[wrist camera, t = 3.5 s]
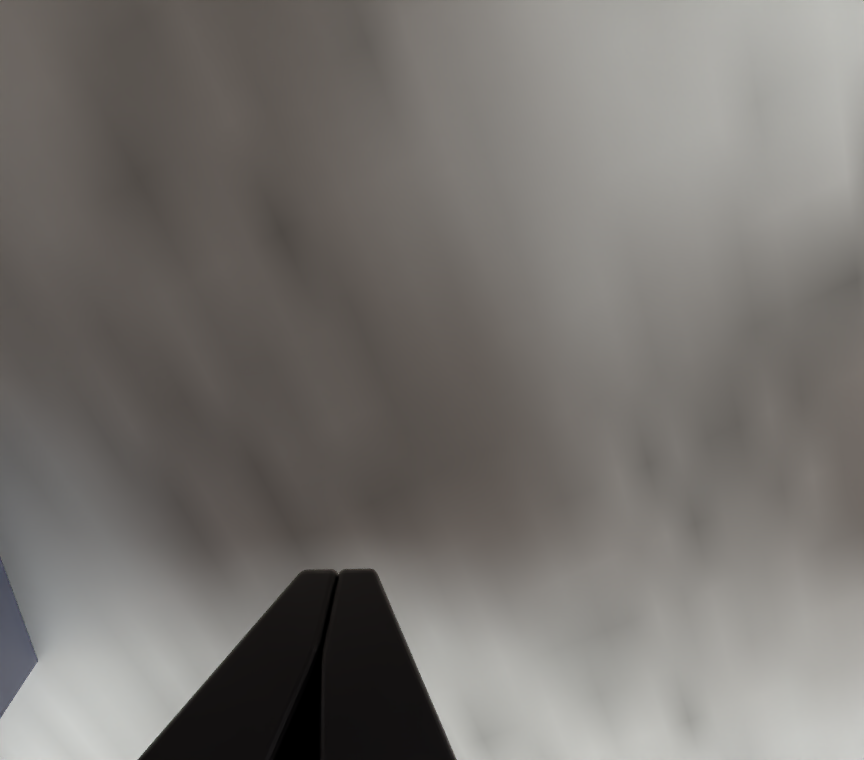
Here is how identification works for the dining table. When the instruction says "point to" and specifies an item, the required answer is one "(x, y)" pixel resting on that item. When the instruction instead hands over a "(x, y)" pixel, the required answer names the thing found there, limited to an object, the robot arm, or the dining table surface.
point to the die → (12, 645)
